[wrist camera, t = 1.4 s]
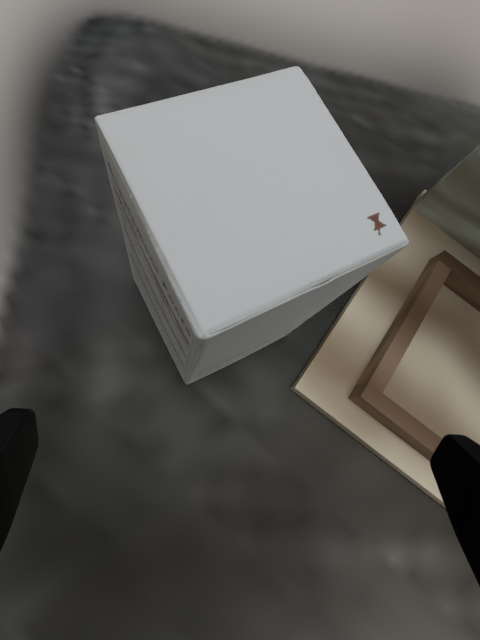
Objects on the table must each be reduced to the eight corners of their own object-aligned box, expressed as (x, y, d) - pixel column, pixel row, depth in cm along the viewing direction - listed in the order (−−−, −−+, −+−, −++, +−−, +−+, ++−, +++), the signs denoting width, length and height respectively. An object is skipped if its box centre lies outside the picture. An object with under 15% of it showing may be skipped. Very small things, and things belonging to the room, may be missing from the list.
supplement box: (236, 238, 24) (306, 57, 12) (289, 337, 23) (422, 245, 11) (129, 278, 22) (86, 106, 10) (181, 389, 21) (202, 346, 9)
